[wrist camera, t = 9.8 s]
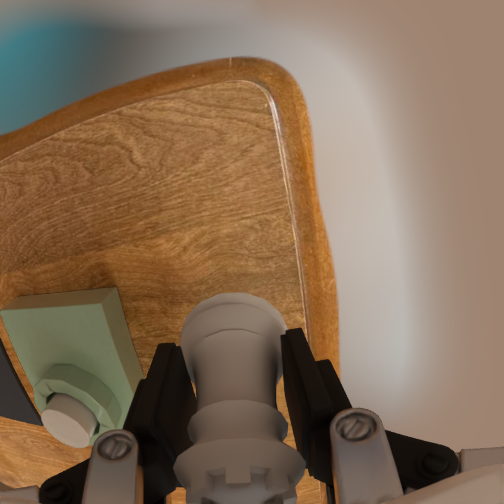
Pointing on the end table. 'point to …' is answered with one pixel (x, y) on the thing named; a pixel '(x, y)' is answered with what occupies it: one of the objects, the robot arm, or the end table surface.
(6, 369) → the mat
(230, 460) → the rook chess piece
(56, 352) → the push button box
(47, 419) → the grey push button
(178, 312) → the end table surface
